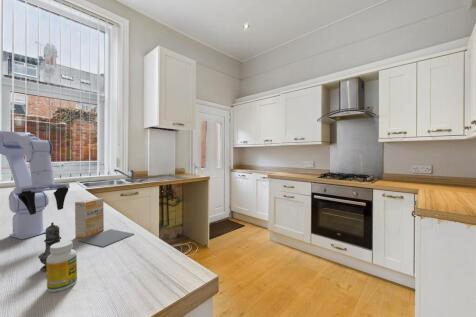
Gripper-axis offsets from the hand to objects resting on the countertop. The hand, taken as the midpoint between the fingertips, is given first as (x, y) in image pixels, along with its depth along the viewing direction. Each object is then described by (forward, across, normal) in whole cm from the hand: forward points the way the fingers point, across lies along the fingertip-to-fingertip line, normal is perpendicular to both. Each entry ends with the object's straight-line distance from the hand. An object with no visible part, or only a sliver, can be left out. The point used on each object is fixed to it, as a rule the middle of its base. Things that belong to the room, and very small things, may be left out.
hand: (47, 211), depth 72 cm
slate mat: (+14, +11, -11) cm, 21 cm away
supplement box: (+12, +11, -2) cm, 16 cm away
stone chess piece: (+16, -8, -16) cm, 24 cm away
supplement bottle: (+20, -12, -28) cm, 36 cm away
